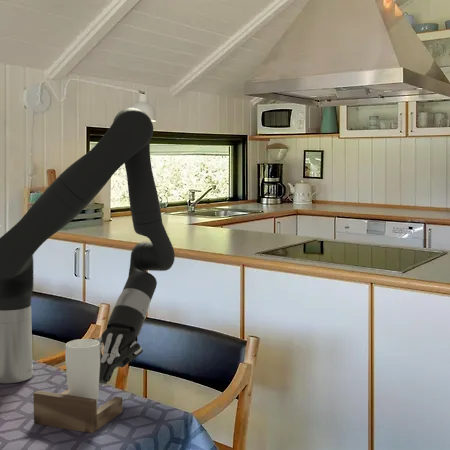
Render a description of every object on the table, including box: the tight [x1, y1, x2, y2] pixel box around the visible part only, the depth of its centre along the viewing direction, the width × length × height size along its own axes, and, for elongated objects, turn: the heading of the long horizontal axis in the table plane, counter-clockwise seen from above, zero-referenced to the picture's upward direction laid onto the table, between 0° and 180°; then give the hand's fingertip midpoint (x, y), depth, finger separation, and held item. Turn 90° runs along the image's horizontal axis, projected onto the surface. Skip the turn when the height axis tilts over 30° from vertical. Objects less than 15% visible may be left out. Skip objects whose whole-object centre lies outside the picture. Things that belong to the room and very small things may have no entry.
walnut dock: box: [32, 388, 123, 434], centre depth 121 cm, size 11×13×6 cm
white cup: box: [64, 338, 101, 408], centre depth 122 cm, size 7×7×15 cm
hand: (101, 382), depth 129 cm, fingers closed
